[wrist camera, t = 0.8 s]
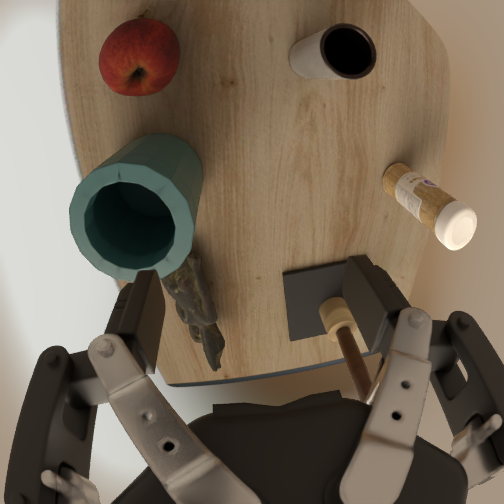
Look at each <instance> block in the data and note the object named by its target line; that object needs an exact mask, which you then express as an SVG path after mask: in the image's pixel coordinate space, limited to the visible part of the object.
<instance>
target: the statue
mask: <svg viewBox="0 0 504 504" xmlns="http://www.w3.org/2000/svg"><path fill="white" fill-rule="evenodd" d="M161 280H162V283H163V285H164V287H165V288H166V290H167V292H168V293H169V294H170V295H171V296H172V297H173V298H174V299H175V300H176V310H177V313H178V314H179V316H180V318H181V320H182V321H183V322H184V323H186V324H188V325H189V331H190V335H191V337H192V338H193V340H194V341H195V342H198V343H202V344H203V350H204V352H205V355H206V357H207V360H208V363H209V364H210V366H211V368H212V370H213V371H217V369H219V368H221V364H220V358H221V355H222V351H223V348H224V347H225V340H224V338H223V336H222V334H221V332H220V331H219V329H218V327H217V324H216V321H217V314H216V310H215V306H214V303H213V301H212V297H211V294H210V290H209V287H208V284H207V282H206V281H205V278H204V276H203V274H202V271H201V257H198V256H197V255H196V254H195V253H192V254H190V255H189V254H188V255H187V257H186V258H185V260H184V261H183V263H182V264H181V266H180V267H179V268H178V269H176V270H175V271H173V272H172V273H170V274H168V275H167V276H165V277H163V278H162V279H161Z"/></svg>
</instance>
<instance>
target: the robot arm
mask: <svg viewBox="0 0 504 504" xmlns="http://www.w3.org/2000/svg"><path fill="white" fill-rule="evenodd" d="M342 292H343V297H344V300H345V302H346V304H347V306H348V308H349V310H350V312H351V314H352V316H353V318H354V320H355V322H356V324H357V326H358V328H359V330H360V332H361V335H362V337H363V339H364V341H365V343H366V345H367V347H368V350H369V352H370V354H374V353H378V352H381V354H382V358H381V360H380V362H379V365H378V368H377V371H376V374H375V377H374V379H373V382H372V385H371V387H370V390H369V392H368V395H367V397H366V399H365V401H364V402H361V401H359V400H354V399H349V398H342V396H341V393H340V390H335V391H329V392H324V393H318V394H312V395H308V396H306V397H303V398H301V399H298V400H296V401H293V402H290V403H287V404H285V405H282V406H268V405H260V404H252V403H231V404H213V413H210V414H207V415H204V416H202V417H199V418H197V419H196V420H194V421H192V422H191V423H189V424H188V425H186V424H185V422H184V421H183V420H182V419H181V418H180V416H179V415H178V414H177V413H176V412H175V410H174V409H173V408H172V407H171V405H170V404H169V403H168V402H167V400H166V399H165V398H164V396H163V395H162V394H161V392H160V391H159V390H158V388H157V387H156V386H155V384H154V383H153V381H152V380H151V379H150V377H149V376H148V375H147V374H155V368H156V361H157V355H158V349H159V343H160V338H161V332H162V327H163V321H164V316H165V299H164V295H163V291H162V287H161V283H160V279H159V275H158V272H157V270H141V271H138V273H137V275H136V278H135V280H134V283H128V284H127V285H126V286H125V287H124V288H123V289H122V290H121V291H120V293H119V295H118V298H117V302H116V303H115V306H114V309H113V311H112V314H111V316H110V319H109V322H108V324H107V327H106V330H105V333H104V334H103V335H100V336H98V337H97V338H95V339H94V340H93V341H92V342H91V343H90V345H89V347H88V350H86V351H81V352H77V353H73V354H69V353H68V352H67V350H66V349H65V348H64V347H62V346H52V347H49V348H47V349H46V350H45V351H43V352H42V354H41V355H40V356H39V359H38V361H37V364H36V366H35V369H34V372H33V375H32V378H31V381H30V383H29V386H28V389H27V392H26V396H25V399H24V402H23V405H22V409H21V412H20V416H19V420H18V423H17V427H16V431H15V435H14V440H13V444H12V449H11V454H10V459H9V464H8V470H7V477H6V483H5V492H4V502H5V504H101V503H100V499H99V493H98V490H97V488H96V486H95V485H94V484H93V483H92V482H91V481H90V480H89V470H90V459H91V450H92V441H93V434H94V425H95V419H96V414H97V408H98V404H103V403H107V402H109V403H110V405H111V407H112V408H113V410H114V412H115V414H116V416H117V417H118V419H119V421H120V422H121V424H122V425H123V427H124V429H125V431H126V432H127V434H128V435H129V437H130V439H131V440H132V442H133V443H134V445H135V446H136V448H137V449H138V451H139V452H140V454H141V455H142V457H143V458H144V459H145V461H146V463H147V464H148V467H147V468H146V469H145V470H144V471H143V472H142V473H141V474H140V475H139V476H138V477H137V478H136V479H135V480H134V481H133V482H132V483H131V484H130V485H129V486H128V487H127V488H126V489H125V490H124V491H123V492H122V493H121V494H120V495H119V496H118V497H117V498H116V499H115V500H114V501H113V502H112V503H111V504H466V499H467V493H468V490H469V489H471V488H472V487H474V486H476V485H480V484H483V483H485V482H487V481H488V480H490V479H492V478H494V477H495V476H497V475H499V474H500V473H502V472H504V365H503V363H502V361H501V360H500V358H499V357H498V355H497V353H496V351H495V350H494V348H493V347H492V345H491V343H490V342H489V340H488V339H487V337H486V336H485V334H484V333H483V331H482V330H481V328H480V327H479V325H478V324H477V322H476V321H475V320H474V318H473V317H472V316H470V315H469V314H467V313H465V312H462V311H455V312H453V313H451V315H450V316H449V318H448V320H447V321H440V320H432V319H431V317H430V316H429V315H428V314H427V313H426V312H425V311H423V310H421V309H419V308H415V307H411V306H410V304H409V303H408V301H407V300H406V298H405V297H404V296H403V294H402V293H401V291H400V290H399V288H398V287H396V284H395V283H394V282H393V281H392V279H391V277H390V276H389V275H388V273H387V272H386V271H385V270H383V269H382V268H380V267H379V266H378V265H373V263H372V262H371V261H370V259H369V258H368V257H367V256H366V255H357V256H349V257H348V259H347V264H346V269H345V275H344V280H343V286H342ZM459 359H460V360H461V362H462V364H463V365H464V367H465V369H466V371H467V374H468V380H467V382H466V380H465V378H464V376H463V374H462V372H461V370H460V368H459V367H458V365H457V362H458V360H459ZM145 374H146V375H145ZM429 379H430V381H431V383H432V385H433V388H434V390H435V392H436V395H437V397H438V399H439V402H440V404H441V406H442V409H443V411H444V413H445V416H446V418H447V421H448V423H449V426H450V429H451V431H452V434H453V436H454V439H453V442H452V450H451V451H450V454H448V453H446V452H444V451H443V450H441V449H439V448H438V447H436V446H434V445H432V444H431V443H429V442H427V441H426V440H424V439H423V438H421V437H419V436H418V435H417V431H418V427H419V424H420V420H421V416H422V411H423V407H424V403H425V399H426V393H427V389H428V384H429Z"/></svg>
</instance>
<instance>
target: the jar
mask: <svg viewBox="0 0 504 504" xmlns="http://www.w3.org/2000/svg"><path fill="white" fill-rule="evenodd" d="M202 182H203V171H202V166H201V163H200V160H199V158H198V156H197V154H196V153H195V151H194V150H193V149H192V147H191V146H190V145H188V144H187V143H186V142H185V141H183V140H182V139H180V138H178V137H176V136H173V135H170V134H166V133H151V134H147V135H144V136H141V137H139V138H136V139H134V140H133V141H132V142H130V143H129V144H127V145H126V146H124V147H123V148H122V149H120V150H119V151H118V152H116V153H115V154H114V155H112V156H111V157H110V158H108V159H107V160H106V161H104V162H103V163H102V164H101V165H99V166H98V167H97V168H96V169H94V170H93V171H92V172H91V173H90V174H89V175H88V176H87V177H86V178H85V179H84V180H83V181H82V182H81V183H80V184H79V185H78V186H77V188H76V191H75V193H74V196H73V199H72V201H71V204H70V209H69V215H70V228H71V233H72V235H73V238H74V240H75V242H76V244H77V246H78V248H79V250H80V252H81V253H82V254H83V255H84V256H85V258H86V259H87V260H89V262H90V263H91V264H92V265H93V266H94V267H95V268H97V269H98V270H99V271H102V272H104V273H105V274H107V275H109V276H111V277H113V278H115V279H118V280H124V281H130V282H134V280H135V278H136V275H137V273H138V271H141V270H157V272H158V275H159V279H162V278H163V277H165V276H167V275H168V274H170V273H172V272H173V271H175V270H176V269H178V268H179V267H180V266H181V264H182V263H183V261H184V260H185V258H186V257H187V255H188V254H189V252H190V251H191V249H192V242H193V236H194V229H195V223H196V217H197V211H198V205H199V199H200V194H201V188H202Z"/></svg>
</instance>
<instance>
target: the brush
mask: <svg viewBox="0 0 504 504" xmlns="http://www.w3.org/2000/svg"><path fill="white" fill-rule="evenodd" d="M319 313H320V316H321V319H322V322H323V324H324V327H325V330H326V332H327V335H328V338H329V339H330V340H332V341H336V342H337V341H338V342H339V345H340V347H341V350H342V353H343V355H344V358H345V361H346V363H347V366H348V368H349V371H350V374H351V377H352V379H353V382H354V385H355V388H356V391H357V393H358V396H359V399H360V401H361V402H364V401H365V399H366V397H367V395H368V392H369V390H370V387H371V385H372V379H371V377H370V374H369V372H368V370H367V367H366V365H365V363H364V360H363V358H362V355H361V353H360V350H359V348H358V346H357V343H356V341H355V339H354V337H353V334H354V333H355V332H356V330H357V324H356V322H355V320H354V318H353V316H352V314H351V312H350V310H349V308H348V306H347V304H346V302H345V300H344V299H343V298H341V297H332V298H329V299H327V300H326V301H324V302H323V303H322V304H321V306H320V308H319Z"/></svg>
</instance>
